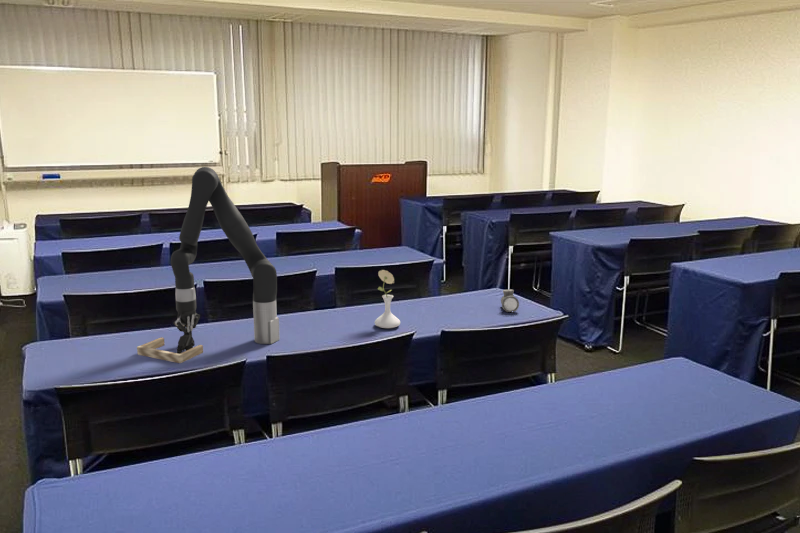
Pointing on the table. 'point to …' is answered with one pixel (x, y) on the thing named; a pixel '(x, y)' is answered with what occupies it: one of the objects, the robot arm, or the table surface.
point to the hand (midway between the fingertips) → (188, 340)
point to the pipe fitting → (509, 301)
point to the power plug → (185, 343)
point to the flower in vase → (387, 304)
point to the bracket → (151, 351)
